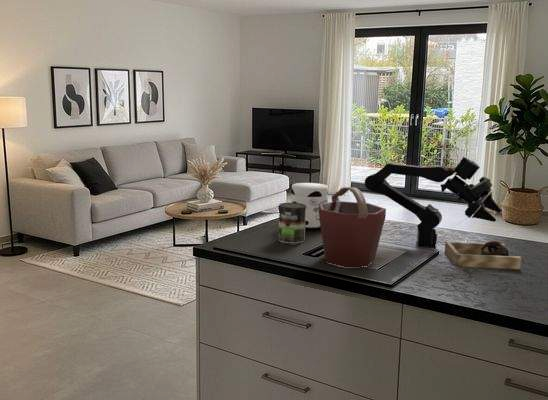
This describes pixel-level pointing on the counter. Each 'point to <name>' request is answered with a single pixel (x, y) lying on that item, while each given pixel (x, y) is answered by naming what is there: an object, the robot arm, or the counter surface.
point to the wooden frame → (478, 256)
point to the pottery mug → (494, 249)
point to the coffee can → (292, 222)
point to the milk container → (310, 201)
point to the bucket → (350, 229)
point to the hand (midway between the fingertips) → (498, 216)
